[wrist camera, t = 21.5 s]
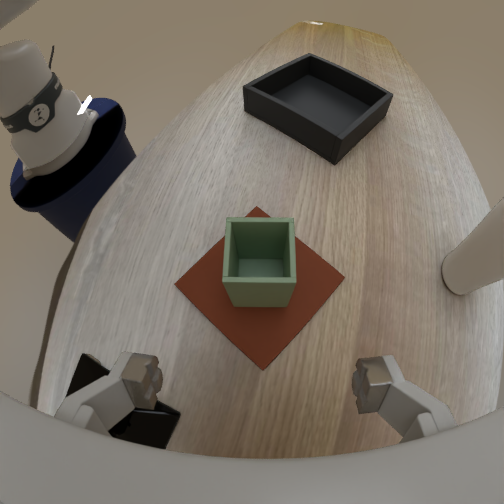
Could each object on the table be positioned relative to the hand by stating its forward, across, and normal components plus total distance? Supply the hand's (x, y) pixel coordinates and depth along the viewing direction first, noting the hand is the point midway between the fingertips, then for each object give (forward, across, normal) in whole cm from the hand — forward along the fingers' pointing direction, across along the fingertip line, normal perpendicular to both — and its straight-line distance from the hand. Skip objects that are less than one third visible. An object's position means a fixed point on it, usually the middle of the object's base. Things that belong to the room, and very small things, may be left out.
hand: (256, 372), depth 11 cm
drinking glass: (+17, -23, +5) cm, 29 cm away
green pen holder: (+16, 0, +5) cm, 17 cm away
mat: (+17, 0, +5) cm, 17 cm away
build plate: (+7, +14, +15) cm, 22 cm away
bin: (+35, -8, -14) cm, 38 cm away
